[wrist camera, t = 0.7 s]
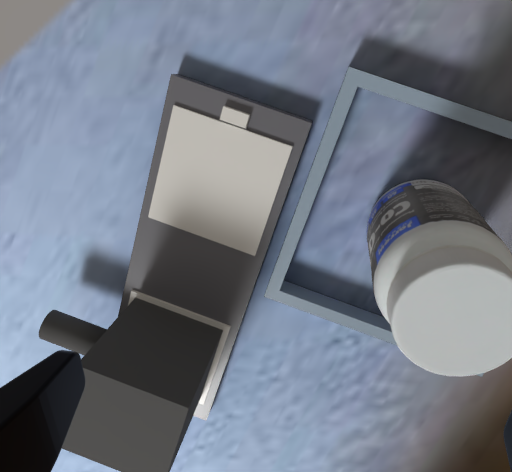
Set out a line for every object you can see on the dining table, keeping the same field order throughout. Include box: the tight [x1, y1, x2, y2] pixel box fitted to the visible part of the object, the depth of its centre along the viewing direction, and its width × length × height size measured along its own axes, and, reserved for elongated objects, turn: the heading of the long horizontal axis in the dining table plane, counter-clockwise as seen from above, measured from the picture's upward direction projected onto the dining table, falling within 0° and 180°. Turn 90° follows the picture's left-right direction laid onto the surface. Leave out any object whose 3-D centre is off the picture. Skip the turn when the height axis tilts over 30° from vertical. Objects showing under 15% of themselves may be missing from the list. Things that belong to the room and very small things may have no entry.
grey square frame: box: [264, 67, 512, 377], centre depth 21 cm, size 11×11×1 cm
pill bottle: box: [367, 179, 512, 376], centre depth 17 cm, size 5×5×8 cm
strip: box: [118, 74, 313, 420], centre depth 23 cm, size 6×18×1 cm, turn 163°
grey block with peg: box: [39, 297, 223, 472], centre depth 22 cm, size 9×5×6 cm, turn 73°
